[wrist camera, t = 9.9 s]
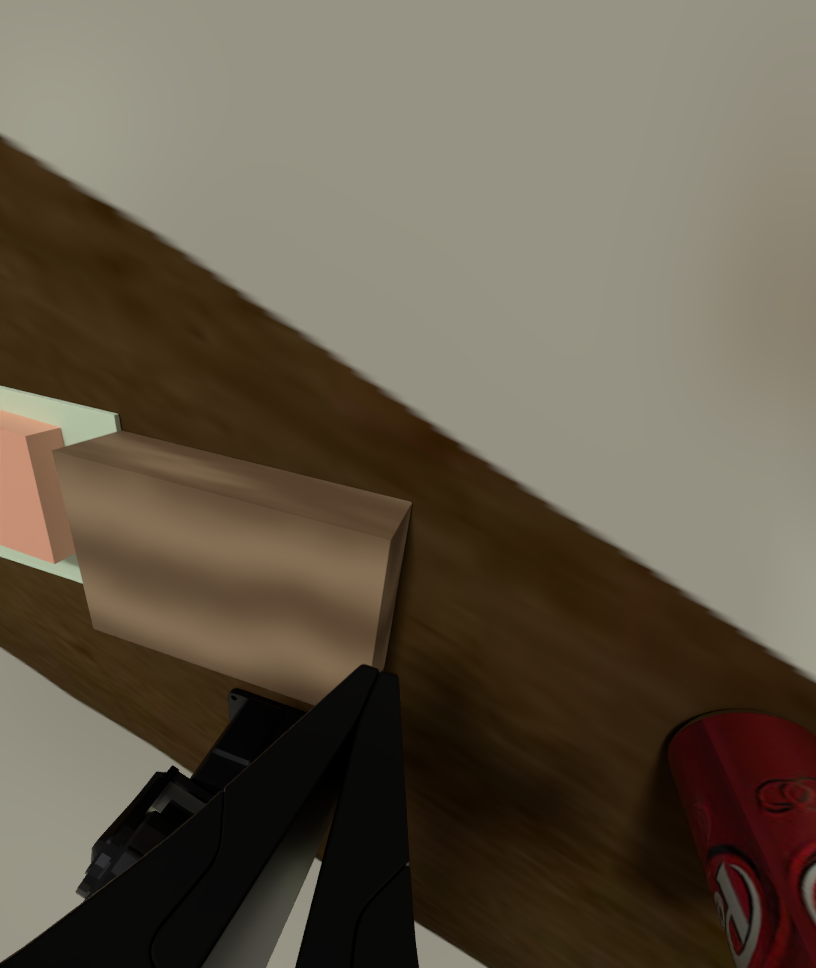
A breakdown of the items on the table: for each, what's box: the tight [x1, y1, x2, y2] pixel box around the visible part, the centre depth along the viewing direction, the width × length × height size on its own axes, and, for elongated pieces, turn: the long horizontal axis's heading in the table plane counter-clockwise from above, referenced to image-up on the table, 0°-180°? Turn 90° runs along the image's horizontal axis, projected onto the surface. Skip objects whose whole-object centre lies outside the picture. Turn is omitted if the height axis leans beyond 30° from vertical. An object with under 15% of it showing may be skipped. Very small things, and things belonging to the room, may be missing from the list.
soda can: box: [667, 709, 816, 968], centre depth 17 cm, size 7×7×12 cm
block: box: [0, 410, 76, 564], centre depth 26 cm, size 9×6×2 cm, turn 170°
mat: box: [0, 386, 121, 583], centre depth 27 cm, size 14×14×1 cm
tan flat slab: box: [52, 430, 412, 705], centre depth 23 cm, size 12×18×4 cm, turn 82°
